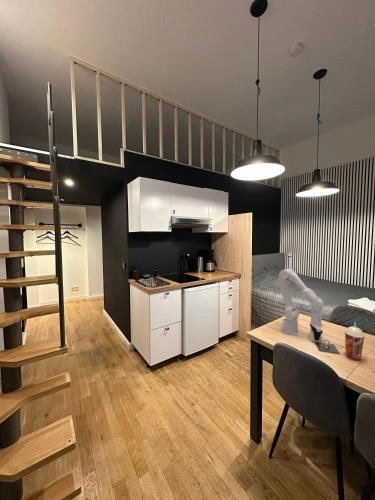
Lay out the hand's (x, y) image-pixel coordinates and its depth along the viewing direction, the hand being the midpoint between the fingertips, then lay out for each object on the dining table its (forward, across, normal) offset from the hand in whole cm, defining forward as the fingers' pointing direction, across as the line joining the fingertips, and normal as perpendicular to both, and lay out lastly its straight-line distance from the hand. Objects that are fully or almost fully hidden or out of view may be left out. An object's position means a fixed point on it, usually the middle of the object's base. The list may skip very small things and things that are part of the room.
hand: (315, 337), depth 134 cm
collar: (+1, 0, 0) cm, 1 cm away
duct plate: (+1, -9, -4) cm, 10 cm away
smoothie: (+2, -15, -15) cm, 21 cm away
